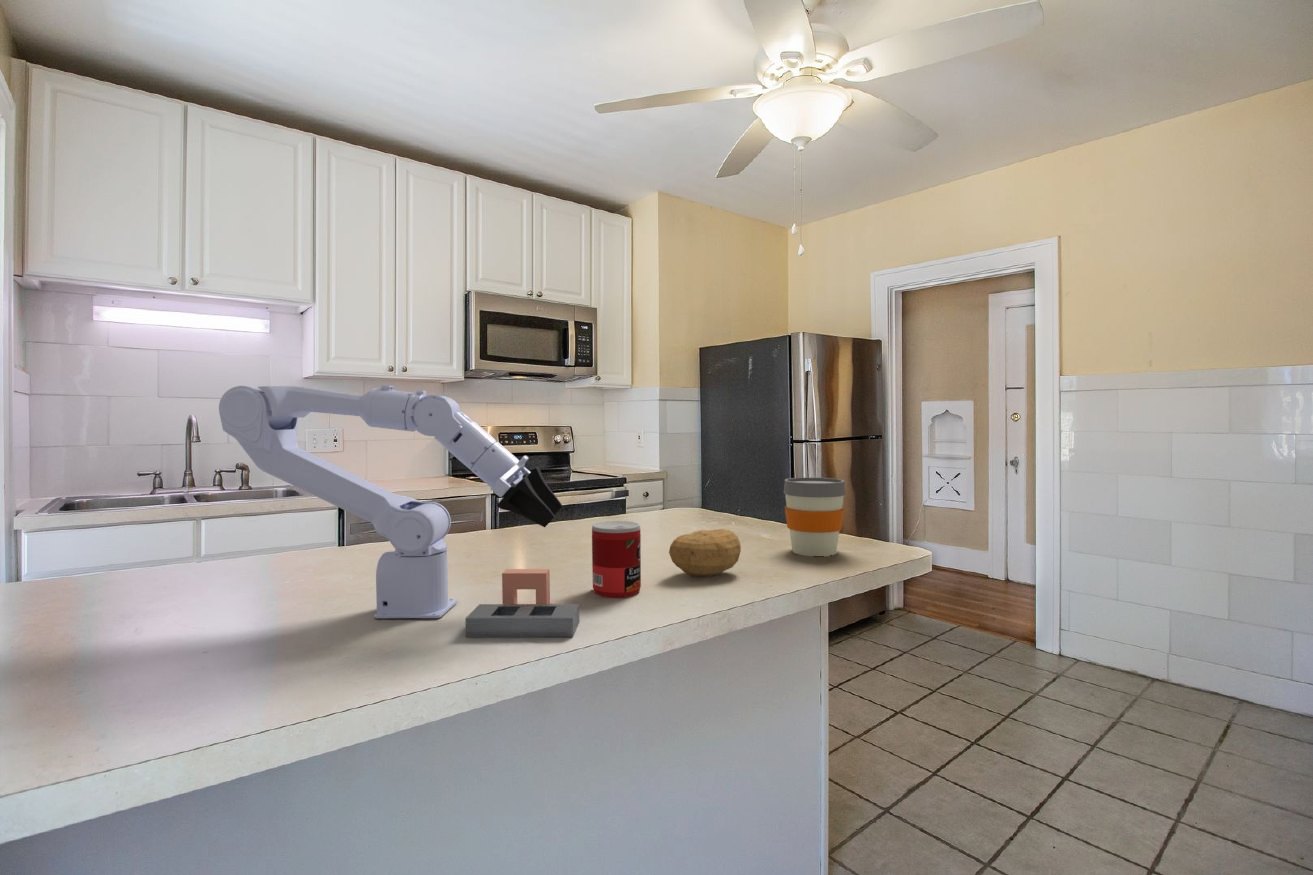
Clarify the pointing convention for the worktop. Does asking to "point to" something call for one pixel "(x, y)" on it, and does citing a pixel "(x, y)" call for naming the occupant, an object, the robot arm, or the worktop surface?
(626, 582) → the canned food
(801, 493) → the reusable coffee cup
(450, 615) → the worktop surface
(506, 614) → the grey slotted block
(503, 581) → the clip
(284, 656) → the worktop surface
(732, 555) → the potato
